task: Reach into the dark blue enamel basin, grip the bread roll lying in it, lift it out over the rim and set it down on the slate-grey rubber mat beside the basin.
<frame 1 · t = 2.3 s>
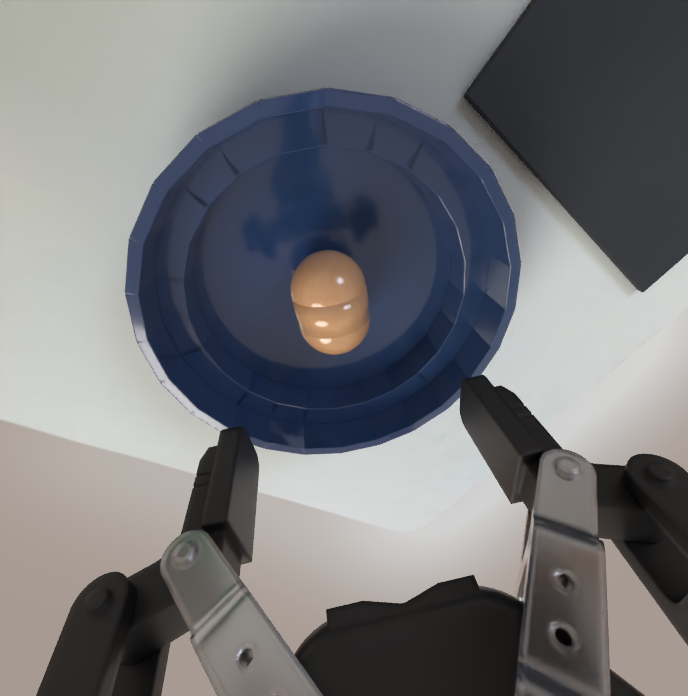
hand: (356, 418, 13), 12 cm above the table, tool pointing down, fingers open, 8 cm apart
basin: (327, 288, 23), on the table
bread roll: (327, 289, 23), resting on basin
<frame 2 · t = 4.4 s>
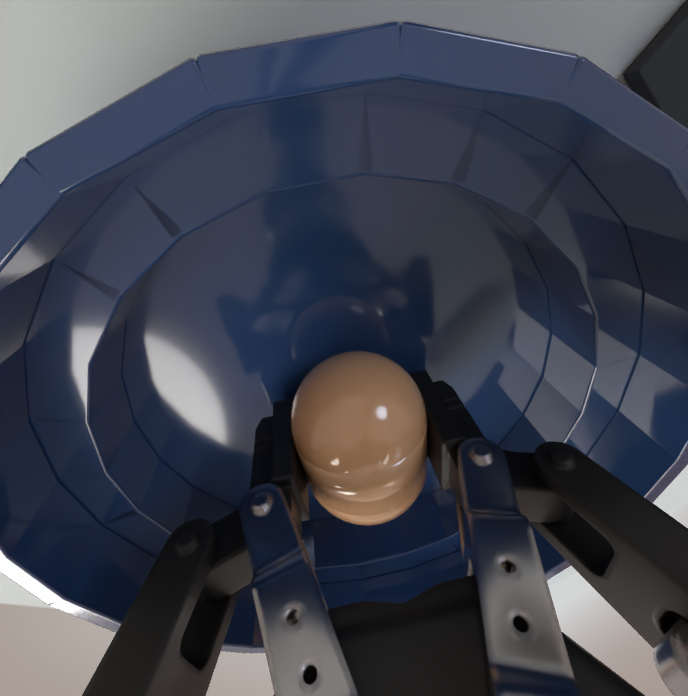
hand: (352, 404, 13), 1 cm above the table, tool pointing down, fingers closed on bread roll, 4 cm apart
basin: (350, 392, 14), on the table
bread roll: (351, 396, 14), resting on basin, touching gripper
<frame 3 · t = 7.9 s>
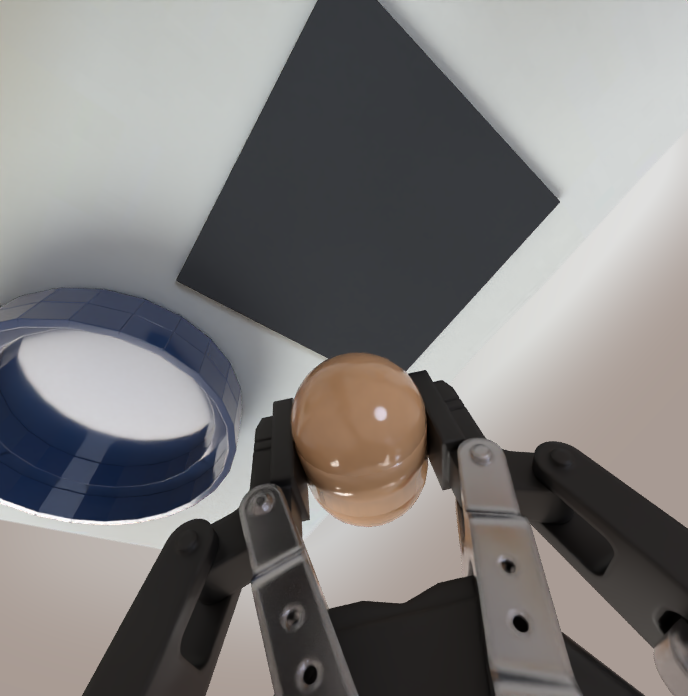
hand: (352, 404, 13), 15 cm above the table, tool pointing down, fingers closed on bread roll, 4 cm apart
mat: (370, 238, 25), on the table
basin: (118, 398, 30), on the table
bread roll: (351, 398, 14), point 15 cm above the table, touching gripper
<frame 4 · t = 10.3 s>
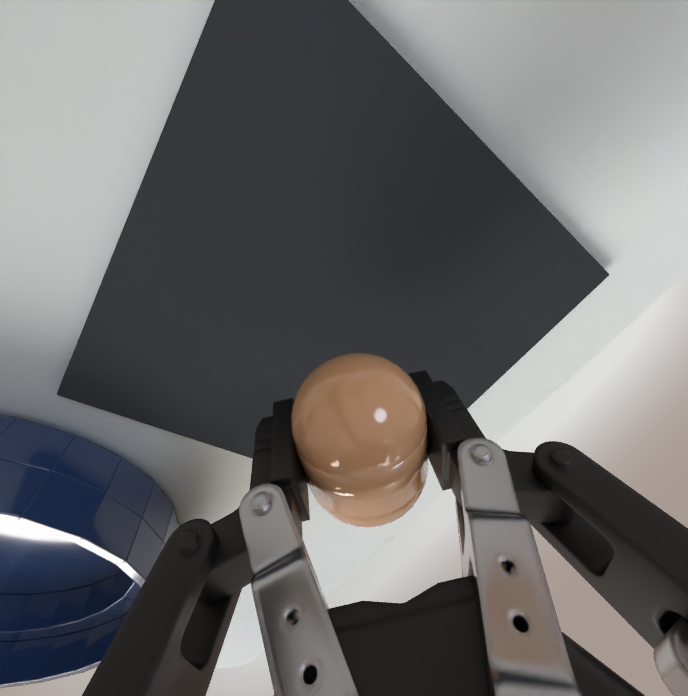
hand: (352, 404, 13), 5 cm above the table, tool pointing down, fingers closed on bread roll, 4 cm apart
mat: (338, 328, 18), on the table
basin: (7, 526, 22), on the table
bread roll: (351, 398, 14), point 5 cm above the table, touching gripper
when the fingers open (1 cm above the table, at t = 11.8 s): bread roll stays where it is, resting on mat.
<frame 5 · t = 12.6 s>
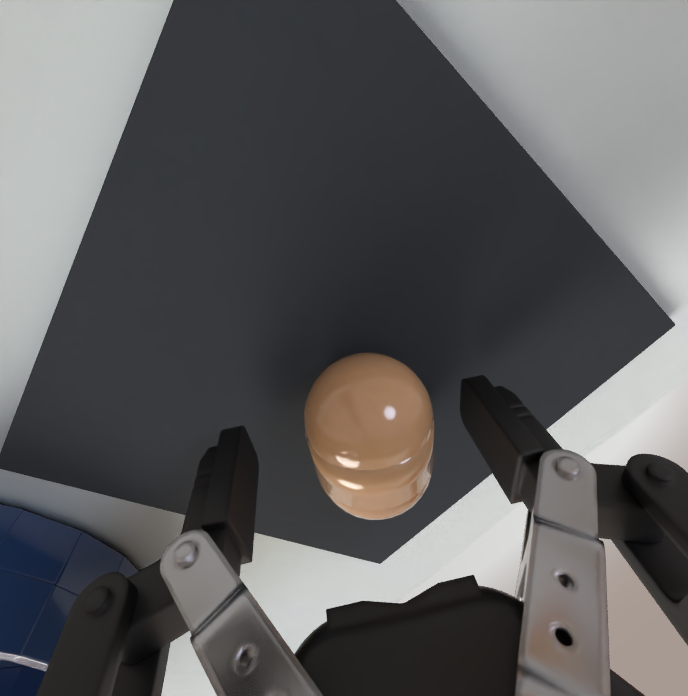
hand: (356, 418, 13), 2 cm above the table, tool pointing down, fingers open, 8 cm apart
mat: (346, 386, 15), on the table
bread roll: (347, 400, 14), point 1 cm above the table, tilted 14°, touching mat
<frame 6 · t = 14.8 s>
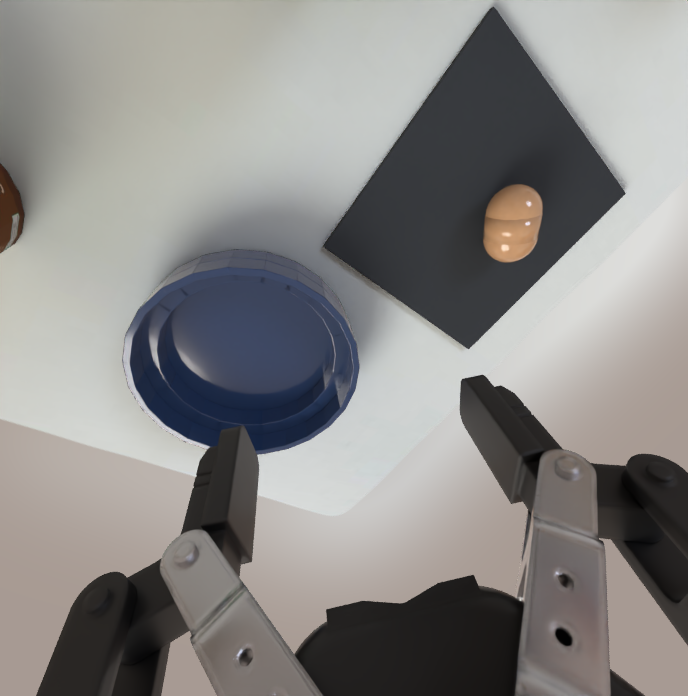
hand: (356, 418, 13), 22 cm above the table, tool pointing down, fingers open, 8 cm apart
mat: (475, 218, 32), on the table
basin: (252, 347, 36), on the table
bread roll: (484, 224, 31), point 1 cm above the table, tilted 53°, touching mat
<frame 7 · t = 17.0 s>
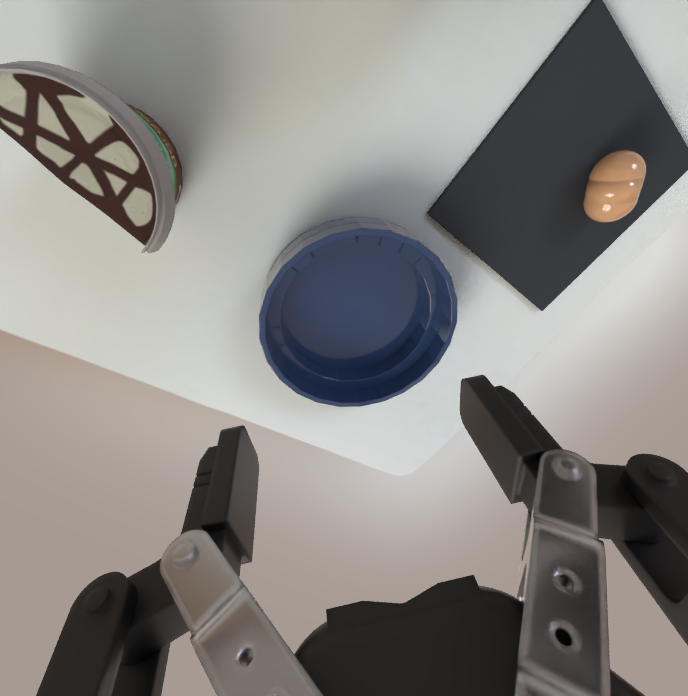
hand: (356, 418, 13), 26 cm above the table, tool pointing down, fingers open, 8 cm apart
mat: (561, 186, 36), on the table
basin: (353, 309, 40), on the table
bread roll: (591, 191, 34), point 3 cm above the table, tilted 92°, touching mat
food container: (144, 141, 29), on the table
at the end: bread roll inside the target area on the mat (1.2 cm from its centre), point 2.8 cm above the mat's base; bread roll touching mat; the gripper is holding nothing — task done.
